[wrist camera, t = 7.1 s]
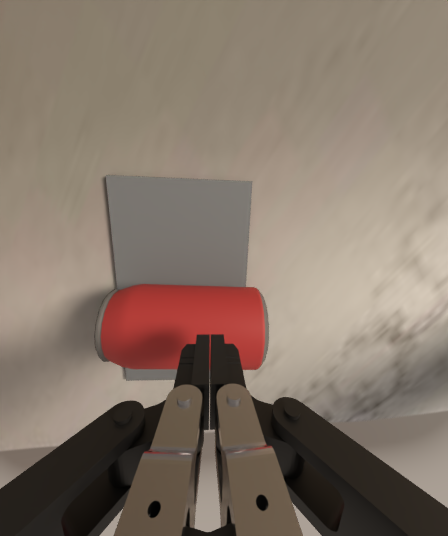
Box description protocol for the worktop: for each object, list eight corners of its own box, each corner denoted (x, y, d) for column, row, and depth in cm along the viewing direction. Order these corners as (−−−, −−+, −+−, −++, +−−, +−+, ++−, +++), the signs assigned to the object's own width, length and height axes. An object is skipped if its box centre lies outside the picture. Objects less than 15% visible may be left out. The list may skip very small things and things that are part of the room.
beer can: (269, 280, 15) (99, 274, 15) (273, 379, 14) (80, 379, 13) (251, 292, 22) (131, 289, 21) (252, 362, 20) (122, 361, 19)
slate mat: (251, 182, 18) (252, 181, 18) (239, 375, 23) (240, 378, 23) (107, 175, 17) (105, 174, 17) (127, 377, 22) (126, 380, 22)
